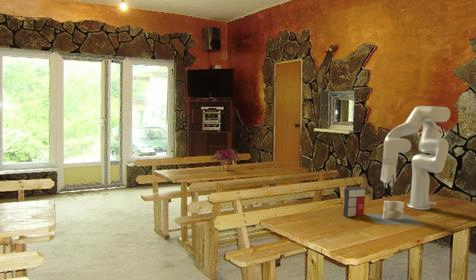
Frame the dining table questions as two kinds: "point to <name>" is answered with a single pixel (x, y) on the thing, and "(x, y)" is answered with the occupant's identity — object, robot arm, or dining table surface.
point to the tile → (393, 209)
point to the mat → (394, 220)
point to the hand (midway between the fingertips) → (386, 195)
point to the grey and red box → (354, 201)
